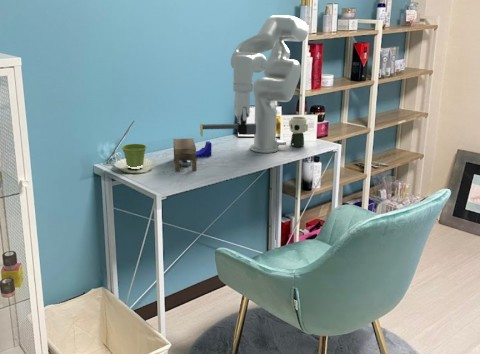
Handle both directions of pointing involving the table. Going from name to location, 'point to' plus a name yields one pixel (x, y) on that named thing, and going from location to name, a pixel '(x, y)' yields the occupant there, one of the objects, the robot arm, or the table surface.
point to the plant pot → (134, 154)
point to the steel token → (184, 162)
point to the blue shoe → (204, 150)
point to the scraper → (228, 127)
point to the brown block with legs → (184, 152)
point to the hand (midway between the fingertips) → (241, 133)
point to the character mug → (298, 130)
